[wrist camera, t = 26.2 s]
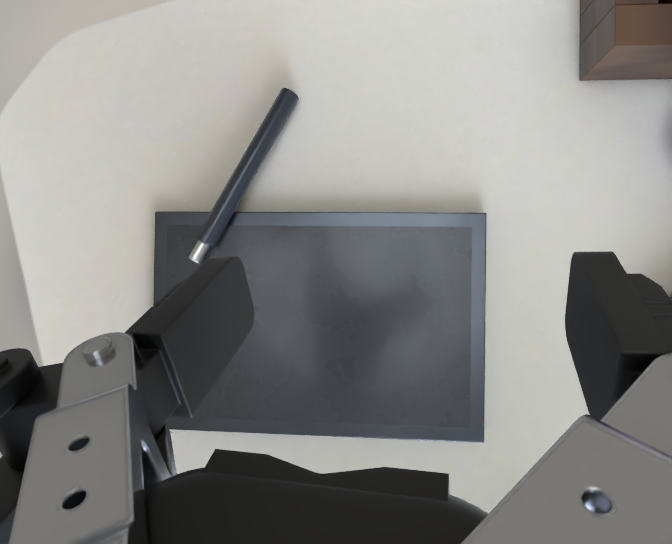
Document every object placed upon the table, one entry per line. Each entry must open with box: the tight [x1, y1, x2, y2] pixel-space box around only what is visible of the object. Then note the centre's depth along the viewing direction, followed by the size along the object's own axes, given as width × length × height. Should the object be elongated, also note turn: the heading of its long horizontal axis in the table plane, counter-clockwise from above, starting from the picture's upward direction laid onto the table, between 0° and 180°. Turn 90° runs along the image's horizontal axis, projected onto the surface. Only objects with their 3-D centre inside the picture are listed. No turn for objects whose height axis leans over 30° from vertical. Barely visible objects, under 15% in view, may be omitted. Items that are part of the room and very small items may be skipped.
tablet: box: [153, 212, 486, 443], centre depth 34 cm, size 24×16×1 cm, turn 89°
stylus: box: [189, 88, 299, 264], centre depth 34 cm, size 1×1×14 cm
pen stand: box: [580, 0, 672, 80], centre depth 31 cm, size 7×7×5 cm
